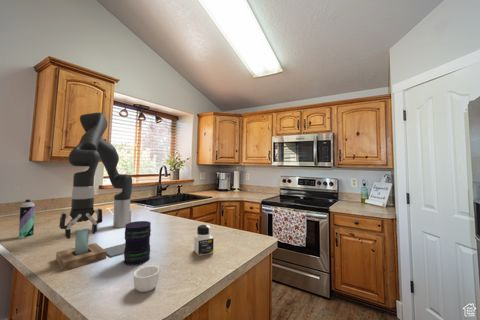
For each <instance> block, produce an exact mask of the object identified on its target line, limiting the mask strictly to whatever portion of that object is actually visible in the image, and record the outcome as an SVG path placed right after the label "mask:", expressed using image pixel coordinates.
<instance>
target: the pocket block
mask: <svg viewBox="0 0 480 320" xmlns="http://www.w3.org/2000/svg"><path fill="white" fill-rule="evenodd" d="M104 249H105V248H103V247H101V246H100V245H99V244H98V243H97V242H94V243H91V244H90V243H88V253H85V254H81V255H77V256H75V247H73V248H68V249H64V250H59V251H56V253H55V261H57V263H58V265H59V267H60V268H61V269H62V271H65V272H66V271H68V270H71V269H74V268H78V267H81V266H84V265H89V264H91V263H95V262H98V261H102V260H106V259H107V254H106V251H105V250H104Z"/></svg>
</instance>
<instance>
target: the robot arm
mask: <svg viewBox="0 0 480 320" xmlns="http://www.w3.org/2000/svg"><path fill="white" fill-rule="evenodd" d="M79 122H80V124H81V127H82V129H83V130H84V132H85V133H83V135H82V136H81V138H80V140H79V143H78V144H76V145H75V146H74V148H73V149H72V150H70V152H69V154H68V162H69V164H70V165H72V166H73V167H88V169H87V170H83V171H79V172H75V173H74V174H73V179H72V180H73V181H72V191H71V206H70V212H61V213H60V217H59V218H60V219H59V229H60V230H64V237H65V238H66V239H68V240H70V239H71V233H72V232H71V228H72V227H73V226H74V225H75V224H76V223H82V222H87V221H90V223H91V234H92V235H95V234H96V233H97V232H98V225H99V224H100V223H103V209H102V208H97V209H94V206H95V205H94V202H95V185H94V183H95V175H96V174H95V173H96V170H97V168H98V165H99V162H100V161H101V162H102V164H103V166H104V168H105V170H106V172H107V175H108V178H109V181H110V184H111V186H112V187H113V188H115V189H122V190H121V192H120V193H117V194H115V195H114V196H113V225H112V226H113V228H115V229H117V228H118V229H120V228H125V225H126V224H128V223H131V222H132V210H131V196H132V189H133V177H132V175H130V174H126V173H125V174H124V173H123V174H121V173H119V172H118V169H117V167H118V164H119V161H120V156H119V154H118V151H117V149H116V148H115V146H114V145H113V144H111V143H110V142H109V141H107V140H106V139H103V138H102V136H103V135H104V133H105V132H106V130H107V128H108V119H107V117H106V116H105V114H104V113H103V112H92V113H84V114H82V115H80V117H79ZM94 214H96V216H97V217H96V218H97V219H96V220H95V218H93V217H92V216H93V215H94ZM69 216H70V220H69V221H68V223H66V219H68V217H69Z"/></svg>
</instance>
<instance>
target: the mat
mask: <svg viewBox="0 0 480 320" xmlns="http://www.w3.org/2000/svg"><path fill="white" fill-rule="evenodd" d="M103 249H104V250H105V251H106V256H108V257H109V258H114V257H118V256H121V255H124V249H125V242H124V243H121V244H116V245H112V246H110V247H106V248H103Z"/></svg>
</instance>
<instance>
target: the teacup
mask: <svg viewBox="0 0 480 320" xmlns="http://www.w3.org/2000/svg"><path fill="white" fill-rule="evenodd" d="M160 273H161V267H159V266H157V265H147V266H142V267H140V268H138V269H136V270H135V271H134V272H133V285H134V288H135V290H136V291H137V292H140V293H147V292H151V291H152V290H153V289H154V288H155V287H157V285H158V284H159V280H160V279H159V278H160Z"/></svg>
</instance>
